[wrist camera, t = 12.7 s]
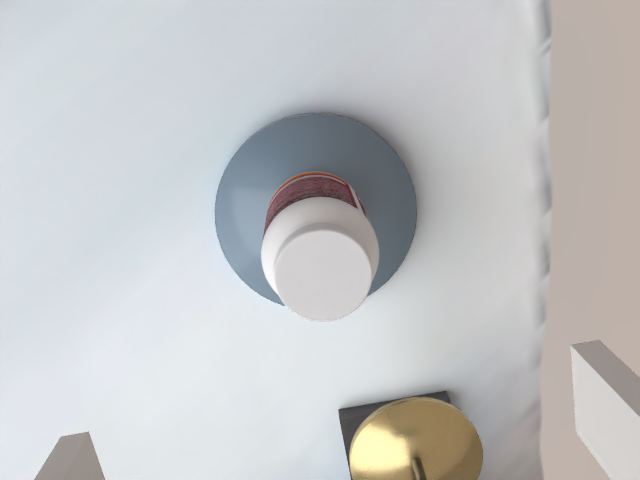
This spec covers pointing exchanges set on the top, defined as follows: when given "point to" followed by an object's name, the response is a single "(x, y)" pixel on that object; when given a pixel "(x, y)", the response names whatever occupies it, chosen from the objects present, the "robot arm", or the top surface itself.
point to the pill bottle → (319, 247)
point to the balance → (411, 440)
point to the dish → (304, 156)
